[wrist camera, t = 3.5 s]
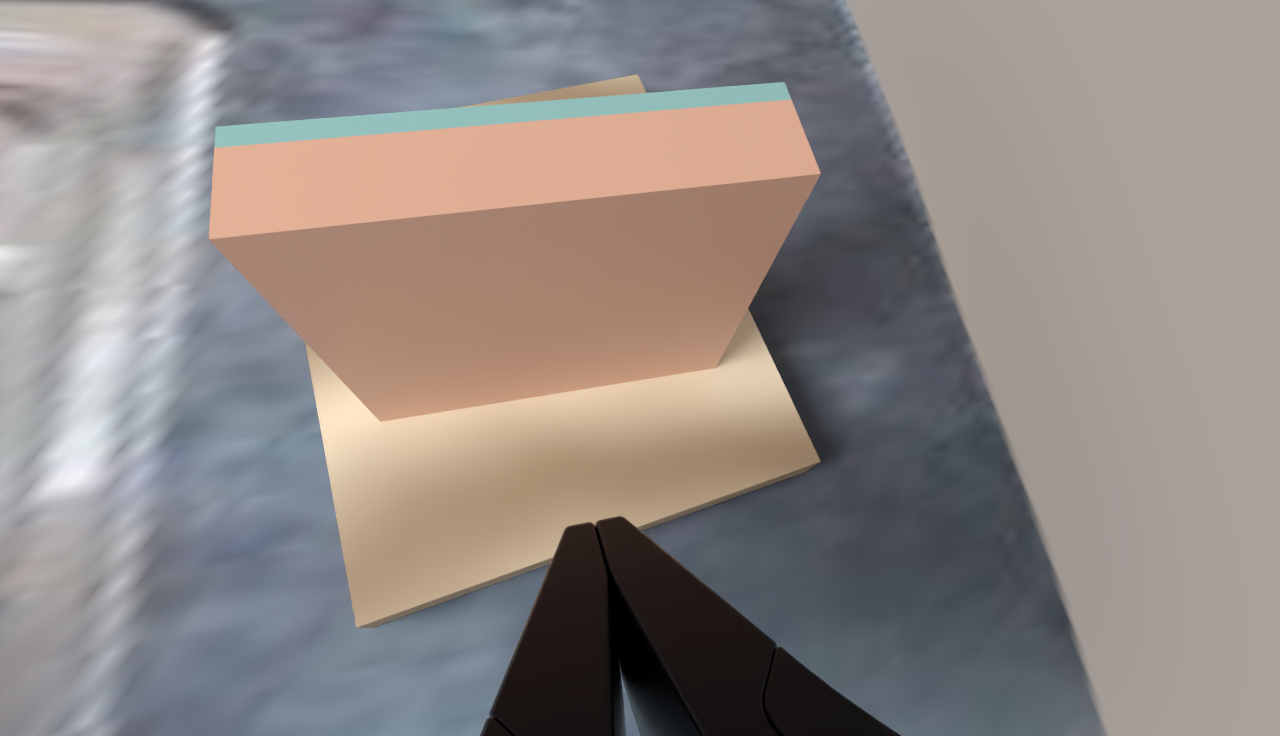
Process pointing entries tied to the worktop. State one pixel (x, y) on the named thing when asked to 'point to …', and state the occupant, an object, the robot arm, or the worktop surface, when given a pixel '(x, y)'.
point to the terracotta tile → (514, 238)
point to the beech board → (543, 463)
